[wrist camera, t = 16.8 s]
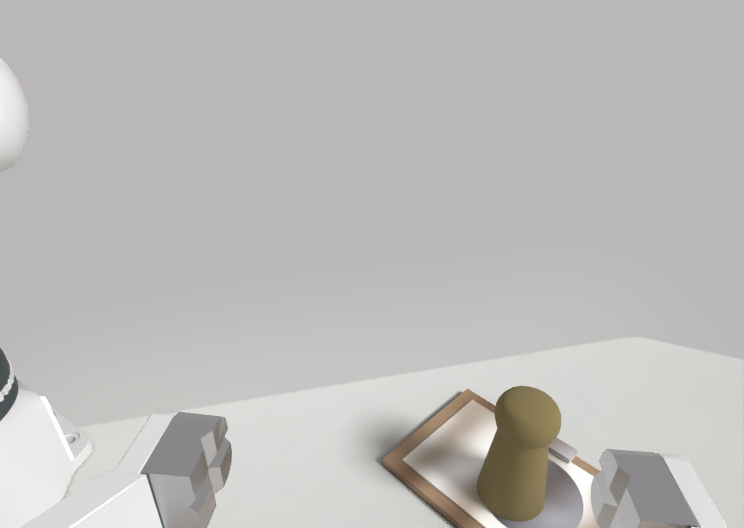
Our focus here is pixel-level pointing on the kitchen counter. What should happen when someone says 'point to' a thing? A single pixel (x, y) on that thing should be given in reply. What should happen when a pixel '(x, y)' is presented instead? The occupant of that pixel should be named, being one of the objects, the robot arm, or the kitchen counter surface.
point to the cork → (519, 454)
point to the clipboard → (465, 460)
